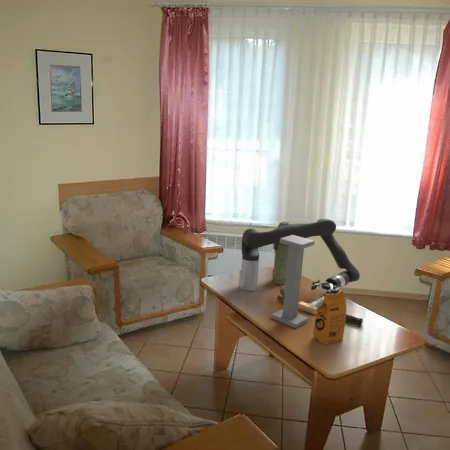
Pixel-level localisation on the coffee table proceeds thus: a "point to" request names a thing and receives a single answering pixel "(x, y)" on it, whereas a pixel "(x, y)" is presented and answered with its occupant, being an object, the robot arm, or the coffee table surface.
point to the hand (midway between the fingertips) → (319, 290)
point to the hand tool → (354, 320)
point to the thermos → (280, 261)
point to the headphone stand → (293, 281)
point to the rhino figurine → (282, 291)
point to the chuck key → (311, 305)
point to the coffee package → (330, 318)
